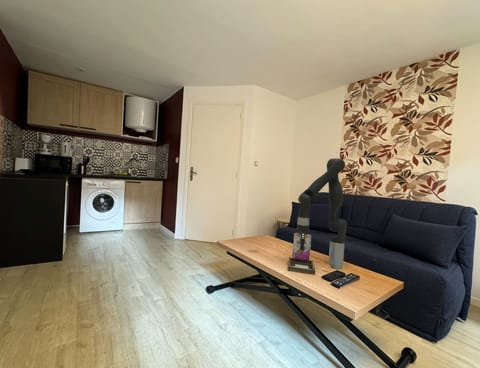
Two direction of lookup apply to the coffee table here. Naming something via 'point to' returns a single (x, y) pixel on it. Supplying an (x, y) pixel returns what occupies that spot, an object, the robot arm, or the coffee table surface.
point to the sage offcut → (301, 266)
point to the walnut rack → (301, 262)
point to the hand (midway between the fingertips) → (301, 248)
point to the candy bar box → (296, 247)
